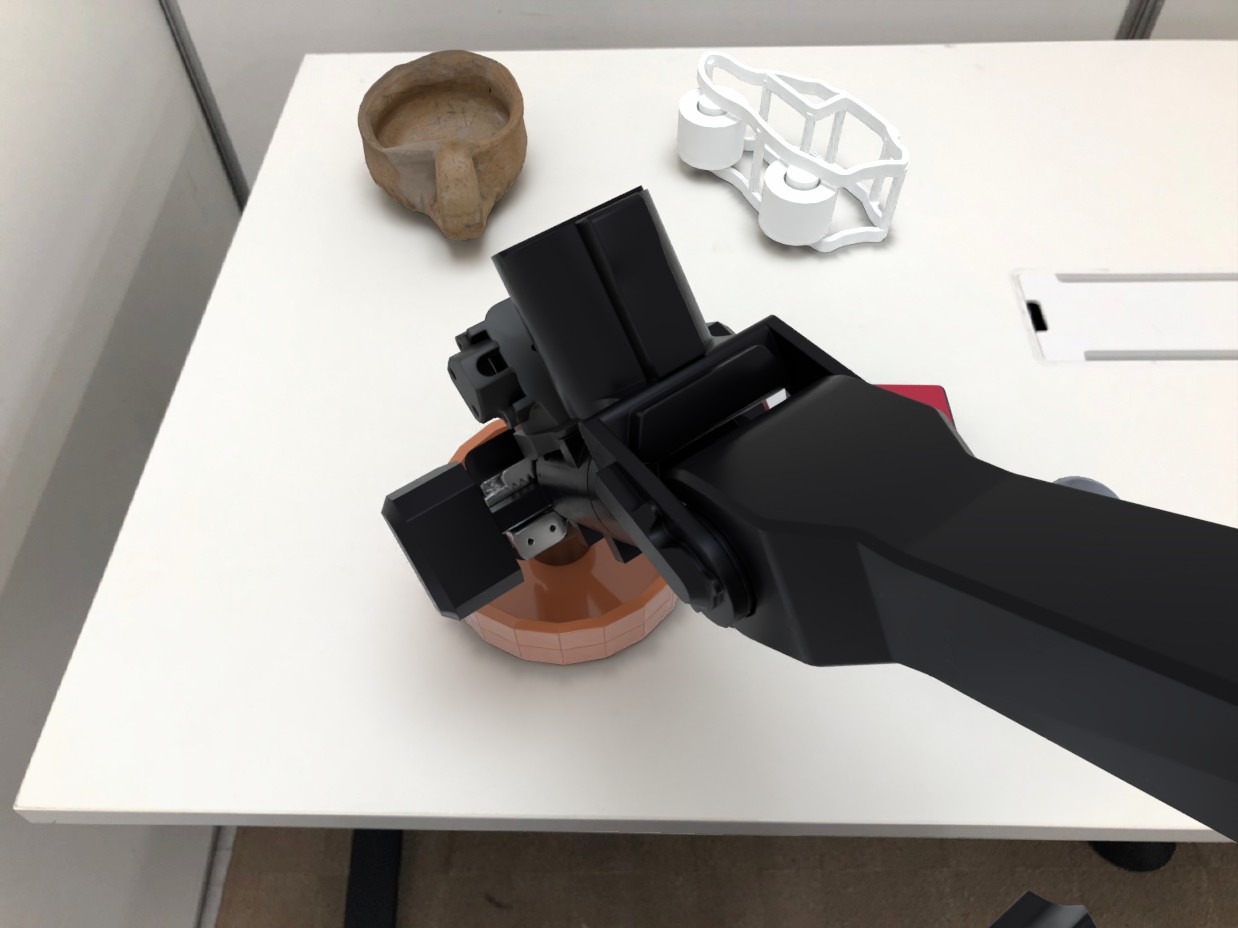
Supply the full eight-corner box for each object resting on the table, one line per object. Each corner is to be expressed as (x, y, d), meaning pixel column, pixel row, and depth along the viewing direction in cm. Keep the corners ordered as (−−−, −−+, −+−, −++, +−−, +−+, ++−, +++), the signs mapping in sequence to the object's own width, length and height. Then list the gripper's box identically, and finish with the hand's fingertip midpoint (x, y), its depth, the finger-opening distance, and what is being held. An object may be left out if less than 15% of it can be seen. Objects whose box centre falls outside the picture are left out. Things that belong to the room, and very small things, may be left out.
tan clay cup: (597, 214, 69) (557, 118, 61) (448, 304, 69) (387, 222, 61) (511, 95, 78) (466, -3, 69) (379, 176, 78) (317, 88, 70)
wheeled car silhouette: (652, 150, 76) (654, 72, 70) (751, 107, 79) (761, 29, 73) (800, 284, 67) (817, 208, 60) (905, 229, 70) (931, 151, 64)
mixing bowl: (715, 642, 50) (723, 607, 46) (452, 688, 49) (435, 655, 45) (663, 433, 59) (665, 387, 55) (437, 467, 58) (422, 422, 54)
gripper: (759, 190, 35) (611, 249, 49) (333, 403, 29) (307, 399, 43) (855, 433, 38) (689, 421, 52) (485, 671, 32) (413, 584, 46)
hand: (535, 451), depth 48 cm, fingers closed on pestle, 3 cm apart
